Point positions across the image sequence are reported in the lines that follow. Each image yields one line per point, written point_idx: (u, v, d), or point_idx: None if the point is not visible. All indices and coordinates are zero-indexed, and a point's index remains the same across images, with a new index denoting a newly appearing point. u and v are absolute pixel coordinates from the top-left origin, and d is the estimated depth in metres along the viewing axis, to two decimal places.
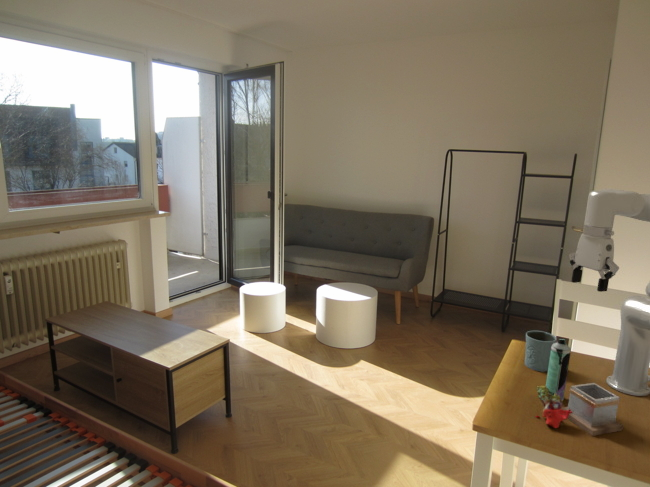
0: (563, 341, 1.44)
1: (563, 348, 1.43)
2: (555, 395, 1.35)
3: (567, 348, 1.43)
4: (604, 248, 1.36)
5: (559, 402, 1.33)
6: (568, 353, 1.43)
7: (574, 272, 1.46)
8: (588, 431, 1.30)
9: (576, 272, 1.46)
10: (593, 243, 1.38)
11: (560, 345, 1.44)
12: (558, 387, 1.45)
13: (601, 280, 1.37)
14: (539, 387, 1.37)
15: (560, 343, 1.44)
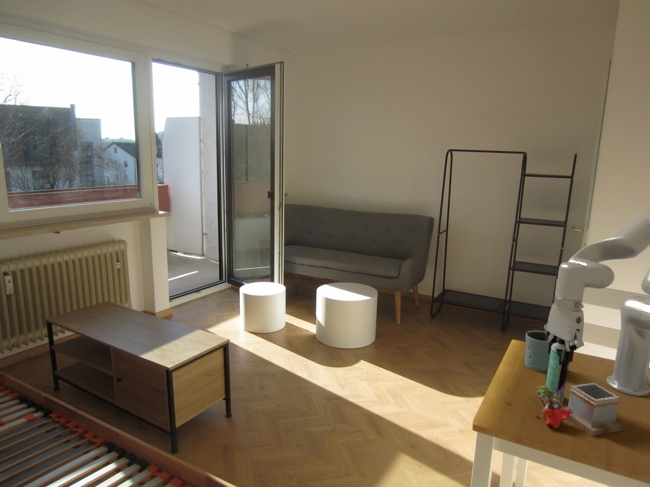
0: (563, 341, 1.44)
1: (563, 348, 1.43)
2: (555, 395, 1.35)
3: None
4: (574, 320, 1.38)
5: (559, 402, 1.33)
6: None
7: (550, 344, 1.47)
8: (588, 431, 1.30)
9: None
10: (563, 315, 1.40)
11: (560, 345, 1.44)
12: (558, 387, 1.45)
13: (566, 352, 1.41)
14: (539, 387, 1.37)
15: (560, 343, 1.44)
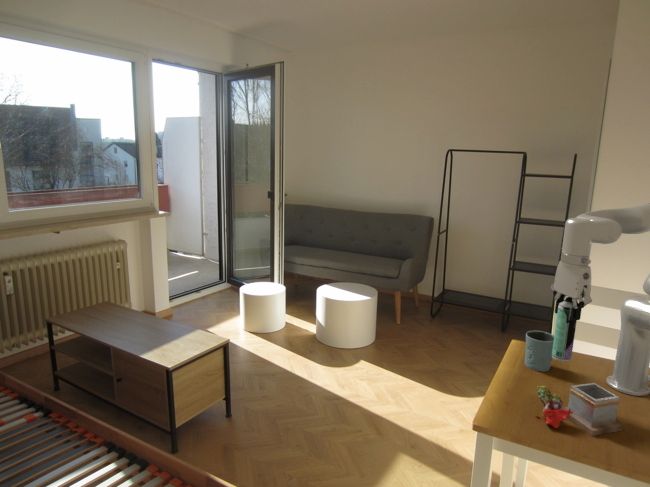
0: (570, 299, 1.41)
1: (570, 306, 1.40)
2: (555, 395, 1.35)
3: None
4: (581, 276, 1.35)
5: (559, 402, 1.33)
6: None
7: (557, 303, 1.45)
8: (588, 431, 1.30)
9: None
10: (570, 271, 1.38)
11: (567, 303, 1.41)
12: (566, 347, 1.42)
13: (574, 309, 1.39)
14: (539, 387, 1.37)
15: (567, 301, 1.41)
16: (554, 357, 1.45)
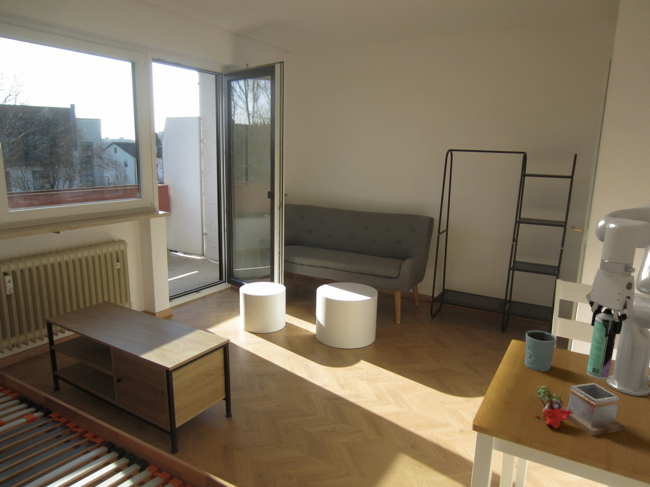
0: (609, 311, 1.28)
1: (610, 319, 1.27)
2: (555, 395, 1.35)
3: None
4: (624, 286, 1.23)
5: (559, 402, 1.33)
6: None
7: (594, 315, 1.32)
8: (588, 431, 1.30)
9: None
10: (611, 280, 1.25)
11: (606, 315, 1.28)
12: (603, 363, 1.29)
13: (614, 322, 1.26)
14: (539, 387, 1.37)
15: (606, 313, 1.28)
16: (590, 374, 1.32)
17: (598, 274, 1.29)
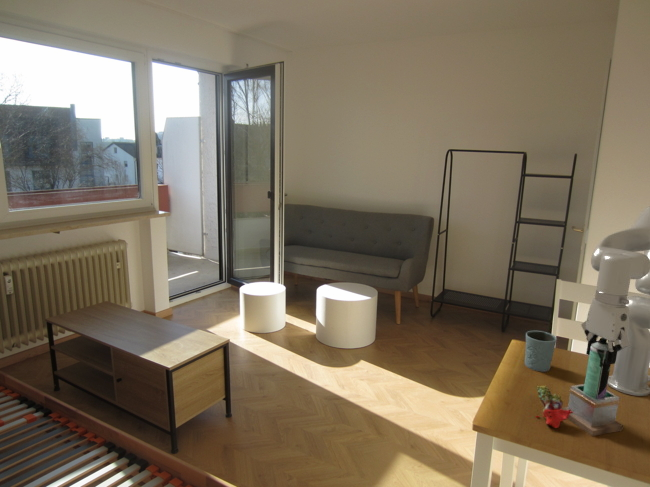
0: (604, 341, 1.30)
1: (604, 349, 1.29)
2: (555, 395, 1.35)
3: None
4: (618, 318, 1.24)
5: (559, 402, 1.33)
6: None
7: (589, 344, 1.33)
8: (588, 431, 1.30)
9: (591, 344, 1.34)
10: (606, 311, 1.27)
11: (601, 345, 1.30)
12: (598, 392, 1.31)
13: (609, 353, 1.28)
14: (539, 387, 1.37)
15: (601, 343, 1.30)
16: None
17: (593, 304, 1.31)
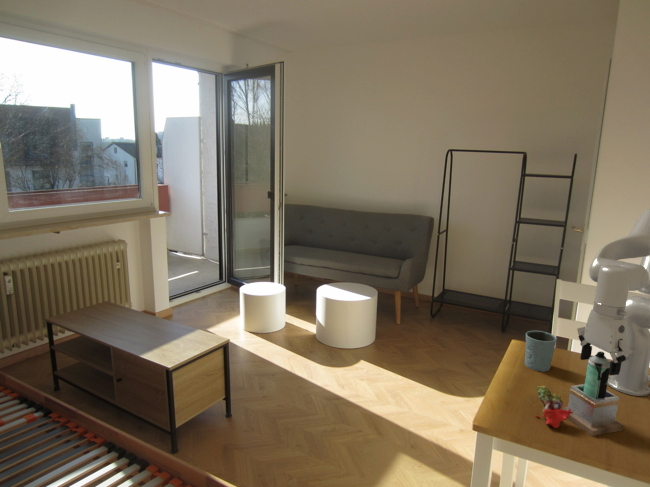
0: (602, 354, 1.31)
1: (602, 363, 1.30)
2: (555, 395, 1.35)
3: (607, 362, 1.30)
4: (616, 329, 1.25)
5: (559, 402, 1.33)
6: (608, 368, 1.30)
7: (583, 349, 1.36)
8: (588, 431, 1.30)
9: (585, 349, 1.36)
10: (604, 323, 1.27)
11: (599, 359, 1.31)
12: None
13: (613, 363, 1.27)
14: (539, 387, 1.37)
15: (599, 357, 1.31)
16: None
17: (591, 315, 1.32)
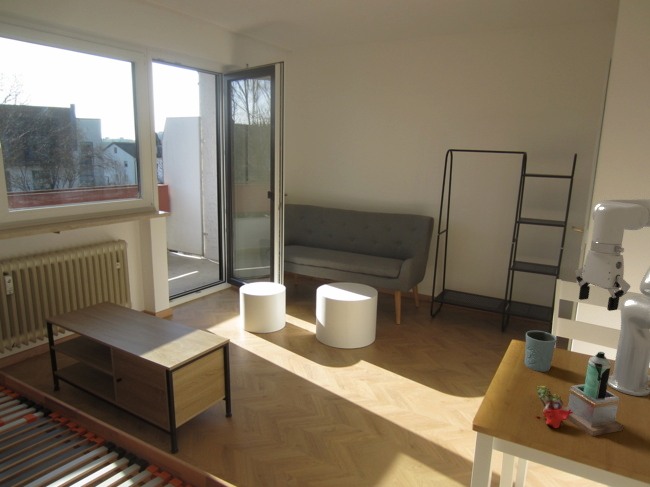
0: (602, 355, 1.31)
1: (602, 363, 1.30)
2: (555, 395, 1.35)
3: (607, 362, 1.30)
4: (614, 266, 1.29)
5: (559, 402, 1.33)
6: (608, 368, 1.30)
7: (581, 289, 1.40)
8: (588, 431, 1.30)
9: (583, 289, 1.40)
10: (602, 261, 1.32)
11: (599, 359, 1.31)
12: None
13: (611, 299, 1.31)
14: (539, 387, 1.37)
15: (599, 357, 1.31)
16: None
17: (589, 255, 1.36)
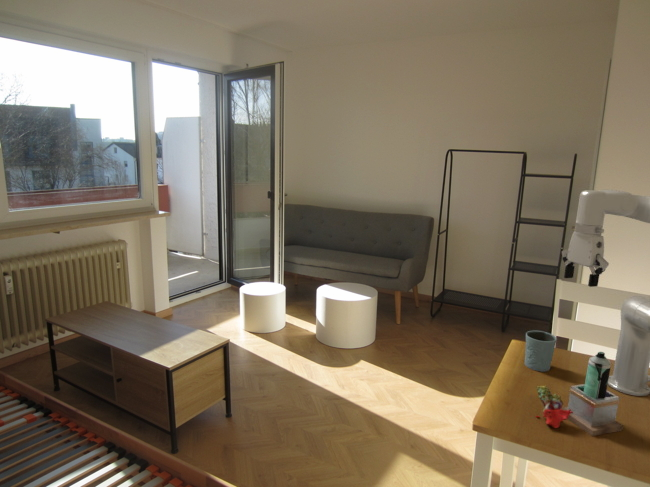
0: (602, 355, 1.31)
1: (602, 363, 1.30)
2: (555, 395, 1.35)
3: (607, 362, 1.30)
4: (594, 245, 1.42)
5: (559, 402, 1.33)
6: (608, 368, 1.30)
7: (566, 268, 1.53)
8: (588, 431, 1.30)
9: (568, 268, 1.53)
10: (584, 241, 1.45)
11: (599, 359, 1.31)
12: None
13: (592, 276, 1.44)
14: (539, 387, 1.37)
15: (599, 357, 1.31)
16: None
17: (573, 236, 1.49)
